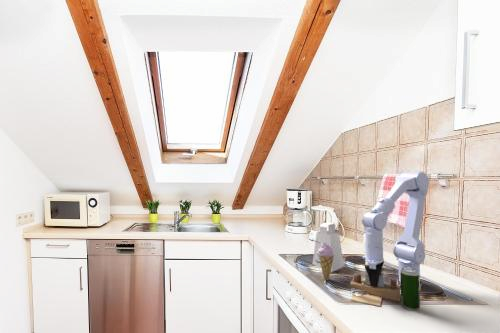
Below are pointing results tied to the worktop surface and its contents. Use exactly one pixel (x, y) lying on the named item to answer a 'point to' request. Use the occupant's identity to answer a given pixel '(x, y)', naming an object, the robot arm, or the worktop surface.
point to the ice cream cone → (325, 259)
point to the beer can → (410, 288)
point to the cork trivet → (368, 299)
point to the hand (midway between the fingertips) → (374, 283)
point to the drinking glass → (365, 249)
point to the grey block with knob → (380, 282)
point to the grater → (333, 240)
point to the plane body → (377, 288)
